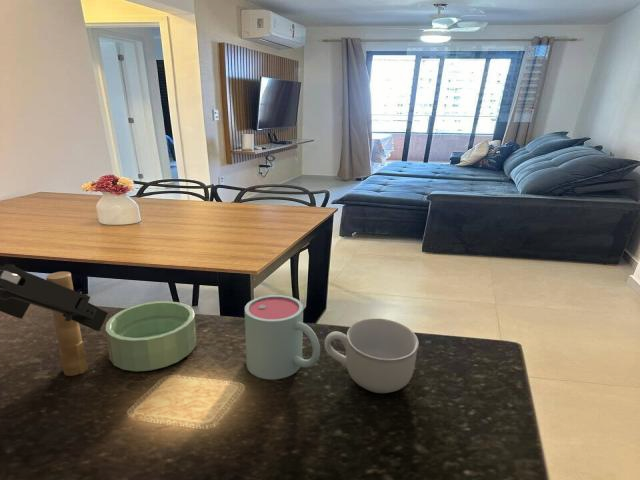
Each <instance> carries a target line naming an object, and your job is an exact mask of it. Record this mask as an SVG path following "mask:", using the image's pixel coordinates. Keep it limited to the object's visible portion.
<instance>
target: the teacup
mask: <svg viewBox="0 0 640 480" xmlns="http://www.w3.org/2000/svg"><path fill="white" fill-rule="evenodd" d="M334 340H338V341H340V342H341V343H342V345H343V348H344V350H345V355H344V354H342V353H340V352H338V351H337V350H335V349H334V347H333V346H332V344H331V343H332V341H334ZM419 343H420V342H419V338H418V336H417V335H416V334H415V332H414V331H413V330H411V328H410V327H408V326H406V325H404V324H402V323H400V322H398V321H395V320H392V319H388V318H373V317H372V318H365V319H362V320H359V321H355V322H354V323H352V324H351V326H350V327H349V328H348V329H347V331H346V334H345V333H343V332H341V331H336V330H335V331H332V332H329V333H328V334H327V336H326V337H325V339H324V349H325V351H326V353H327V354H328V356H329V357H331V358H332V359H334V360H335V361H337V362H338V363H340V364H341V365H342V367H343V368H344V369H345V368H346V369H347V372H348V374H349V376H350V378H351V379H352V381H353V382H355V383H356V384H357V385H358V386H359V387H361V388H363V389H364V390H367V391H368V392H371V393H376V394H388V393H393V392H397V391H400V390H401V389H404V387H406V386H407V385H408V384H409V383H410V381H411V379H412V377H413V374H414V372H415V371H414V370H415V366H416V360H417V353H418V350H419V347H420V345H419Z"/></svg>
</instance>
